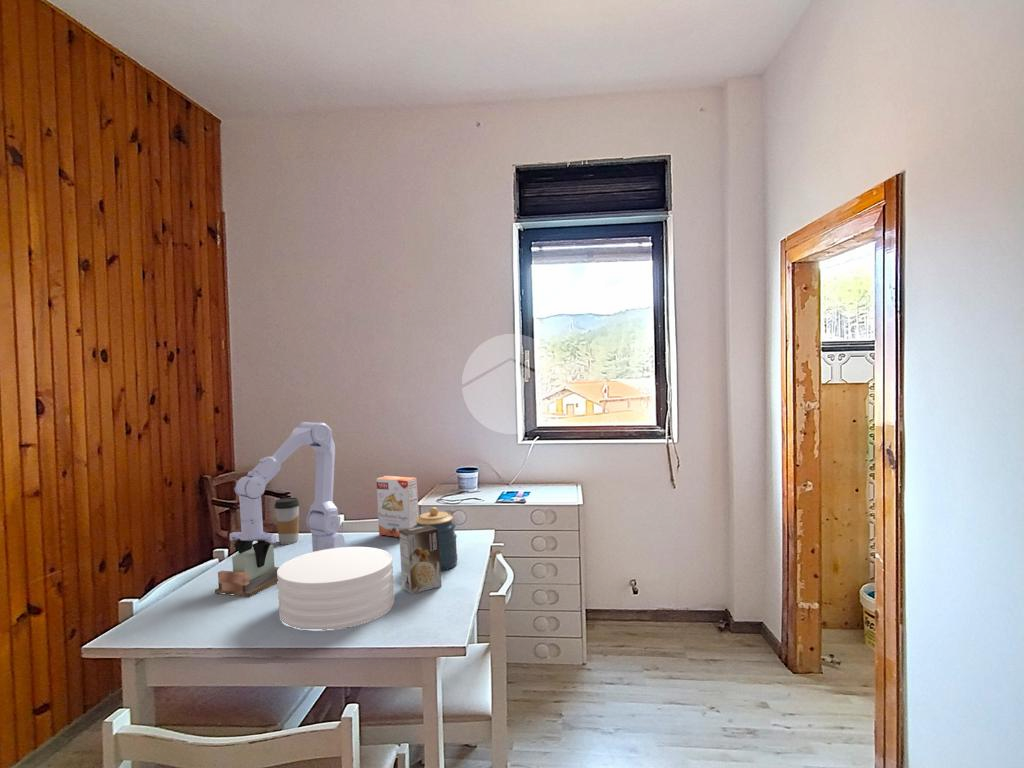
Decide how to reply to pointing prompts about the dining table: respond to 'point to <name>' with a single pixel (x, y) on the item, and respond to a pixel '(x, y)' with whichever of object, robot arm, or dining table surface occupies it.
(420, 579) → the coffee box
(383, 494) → the cracker box
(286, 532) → the coffee cup
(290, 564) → the plate stack
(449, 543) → the canister
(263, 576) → the track
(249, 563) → the pale green block
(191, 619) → the dining table surface
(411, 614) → the dining table surface
